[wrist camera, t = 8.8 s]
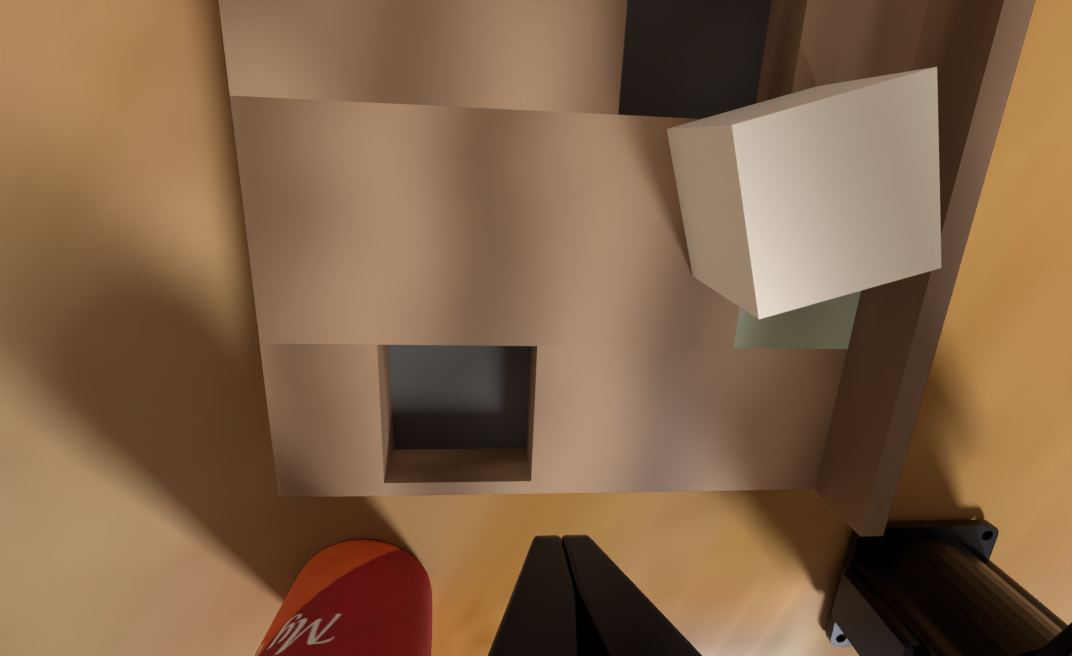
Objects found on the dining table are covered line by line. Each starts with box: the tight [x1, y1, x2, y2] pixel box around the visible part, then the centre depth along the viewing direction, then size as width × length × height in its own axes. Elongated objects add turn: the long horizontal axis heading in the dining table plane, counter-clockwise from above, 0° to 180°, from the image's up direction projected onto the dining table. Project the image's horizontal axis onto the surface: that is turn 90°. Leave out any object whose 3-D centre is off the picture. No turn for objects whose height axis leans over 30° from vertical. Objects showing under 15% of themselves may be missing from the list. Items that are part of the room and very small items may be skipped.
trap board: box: [218, 0, 1035, 536], centre depth 17 cm, size 20×18×5 cm
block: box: [667, 67, 942, 319], centre depth 15 cm, size 4×4×4 cm
